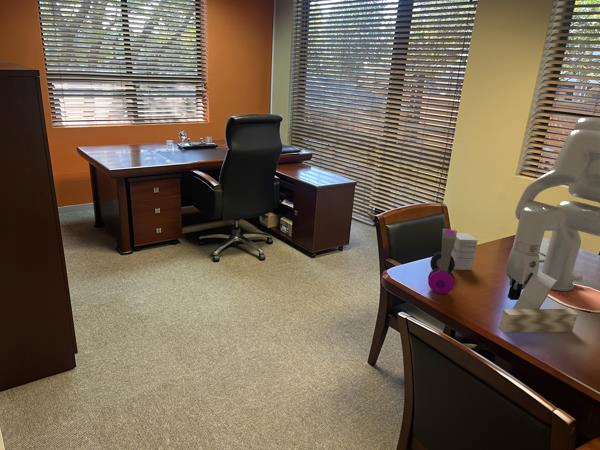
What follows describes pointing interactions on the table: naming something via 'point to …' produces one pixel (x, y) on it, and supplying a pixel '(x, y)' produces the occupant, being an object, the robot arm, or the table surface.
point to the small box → (535, 292)
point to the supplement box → (464, 251)
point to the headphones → (443, 265)
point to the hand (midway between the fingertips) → (513, 298)
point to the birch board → (537, 320)
